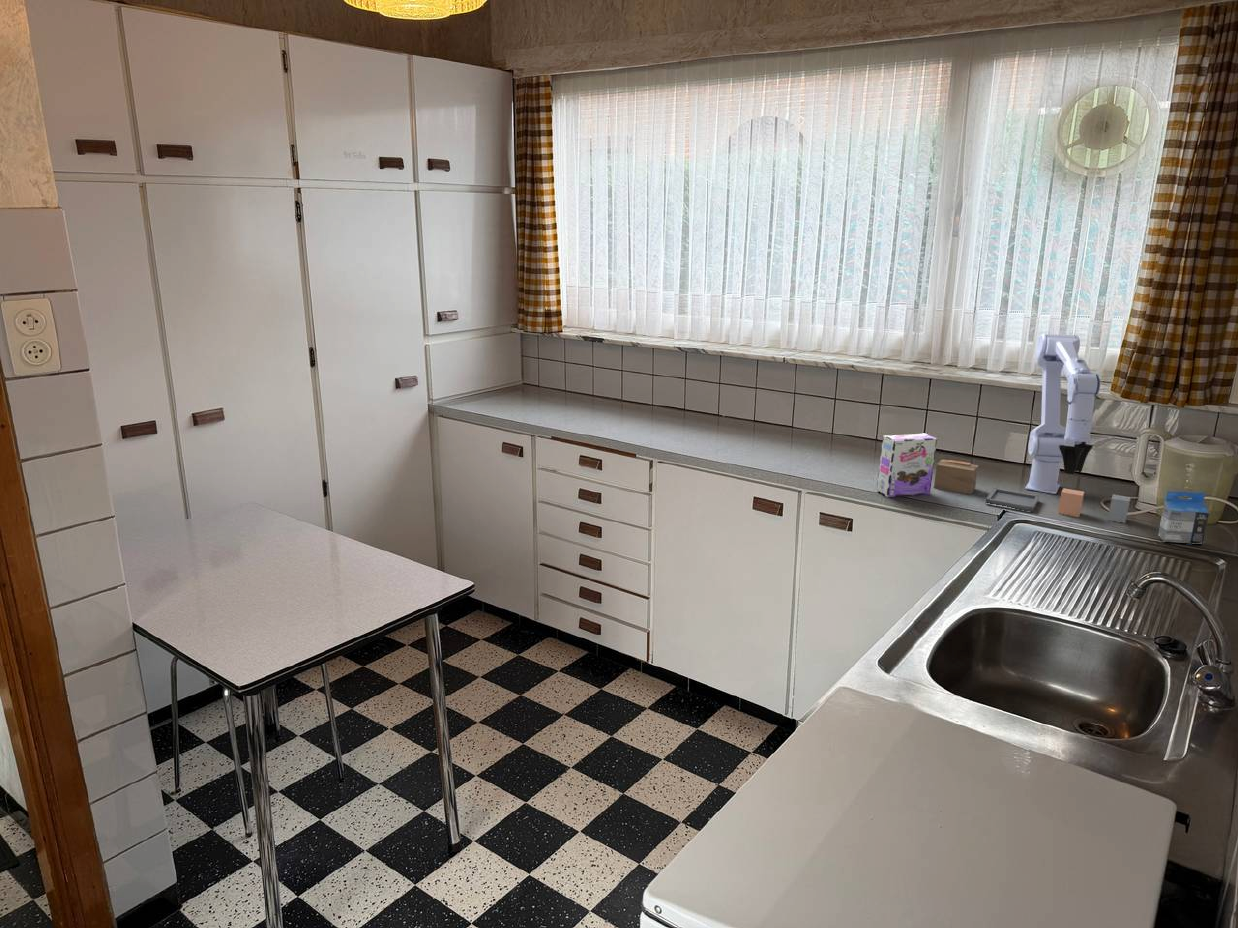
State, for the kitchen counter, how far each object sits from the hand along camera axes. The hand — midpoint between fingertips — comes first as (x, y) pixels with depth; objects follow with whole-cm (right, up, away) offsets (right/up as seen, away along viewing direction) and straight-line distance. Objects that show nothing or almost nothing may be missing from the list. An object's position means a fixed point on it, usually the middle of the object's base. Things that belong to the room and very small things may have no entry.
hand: (1073, 472), depth 227 cm
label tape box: (+18, -17, -15) cm, 29 cm away
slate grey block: (+11, -12, -1) cm, 17 cm away
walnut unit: (-23, -5, +22) cm, 32 cm away
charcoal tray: (-11, -8, +10) cm, 17 cm away
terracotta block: (+1, -11, +3) cm, 11 cm away
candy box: (-39, -6, +17) cm, 43 cm away
